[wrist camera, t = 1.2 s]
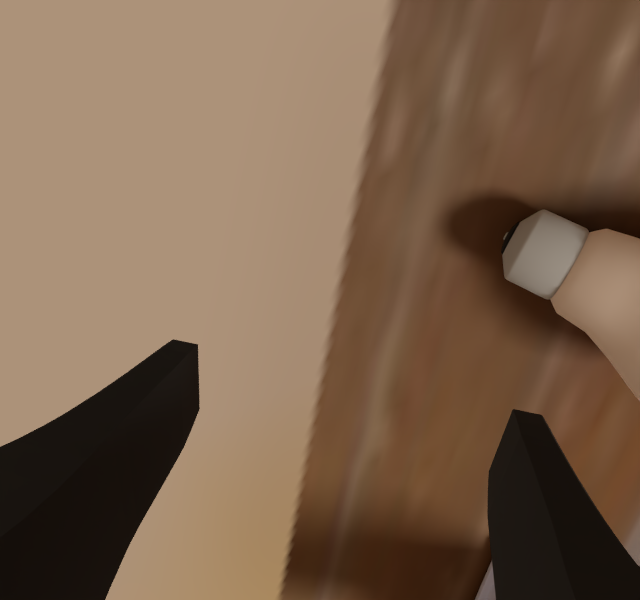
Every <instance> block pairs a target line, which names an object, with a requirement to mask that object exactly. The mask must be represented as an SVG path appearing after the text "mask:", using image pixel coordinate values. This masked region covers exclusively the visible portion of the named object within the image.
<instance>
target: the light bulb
mask: <svg viewBox="0 0 640 600" xmlns="http://www.w3.org/2000/svg"><path fill="white" fill-rule="evenodd" d="M503 240H504V243H503V246H502V251H501V254H503V255H502V257H503V268H504V277H505V279H506V280H508V281H510V282H512V283H514V284H516V285H518V286H520V287H522V288H524V289H526V290H528V291H530V292H532V293H534V294H536V295H538V296H540V297H542V298H544V299H549V300H551V302H552V304H553V307H554V309H555V311H556V313H557V314H559V315H560V316H562V317H563V318H565V319H566V320H568V321H569V322H571V323H572V324H574V325H575V326H577V327H578V328H580V329H581V330H583V331H584V332H586V334H587V335H588V336H589V337H590V338H591V339H592V341H593V342H594V343H595V344H596V345H597V346H598V348H599V349H600V350H601V351H602V352H603V354H604V355H605V356H606V357H607V358H608V360H609V361H610V362H611V364H612V365H613V367H614V368H615V369H616V371H617V372H618V373H619V375H620V376H621V377H622V379H623V380H624V382H625V383H626V384H627V386H628V387H629V388H630V390H631V391H632V393H633V394H634V395H635V396H636V397H637V399H638V400H639V401H640V239H639V238H636V237H633V236H630V235H626V234H623V233H620V232H616V231H613V230H610V229H602V230H597V231H593V232H589V231H588V229H587V228H584V227H582V226H580V225H578V224H576V223H574V222H571V221H569V220H567V219H565V218H563V217H560V216H558V215H556V214H554V213H552V212H549V211H547V210H544V209H543V210H540V211H538V212H536V213H535V214H533V215H531V216H530V217H528V218H526V219H524V220H523V221H521V222H518V223H517V224H515V225H514V226H513V228H512V229H511V230H510V231H509V232H507V233H506V234H505V236H504V238H503Z"/></svg>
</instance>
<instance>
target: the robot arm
mask: <svg viewBox="0 0 640 600" xmlns="http://www.w3.org/2000/svg"><path fill="white" fill-rule="evenodd" d="M198 411H199V374H198V345H197V344H192V343H188V342H182V341H178V340H171V341H170V342H168V343H167V344H166V345H164V346H163V347H161V348H160V349H159V350H157V351H156V352H155V353H153V354H152V355H150V356H149V357H148V358H146V359H145V360H144V361H142V362H141V363H139V364H138V365H137V366H135V367H134V368H133V369H131V370H130V371H129V372H127V373H126V374H124V375H123V376H121V377H120V378H118V379H117V380H116V381H115V382H113V383H111V384H110V385H108V386H107V387H105V388H104V389H103V390H101V391H100V392H98V393H97V394H95V395H94V396H92V397H90V398H89V399H87V400H86V401H84V402H82V403H81V404H79V405H78V406H77V407H75V408H73V409H71V410H70V411H68V412H67V413H65V414H63V415H62V416H60V417H58V418H56V419H55V420H53V421H51V422H49V423H47V424H46V425H44V426H42V427H40V428H38V429H36V430H34V431H33V432H30V433H28V434H26V435H25V436H23V437H21V438H19V439H17V440H14V441H12V442H10V443H8V444H6V445H3V446H1V447H0V600H105V599H106V596H107V594H108V591H109V589H110V587H111V584H112V582H113V580H114V578H115V575H116V573H117V571H118V569H119V566H120V564H121V562H122V559H123V557H124V555H125V553H126V550H127V548H128V546H129V544H130V542H131V541H132V539H133V537H134V535H135V533H136V531H137V529H138V527H139V525H140V523H141V522H142V520H143V518H144V517H145V515H146V513H147V511H148V509H149V508H150V506H151V504H152V502H153V501H154V499H155V497H156V496H157V494H158V492H159V490H160V489H161V487H162V485H163V483H164V481H165V480H166V478H167V476H168V474H169V473H170V471H171V469H172V467H173V465H174V464H175V462H176V460H177V459H178V457H179V455H180V453H181V451H182V449H183V448H184V445H185V443H186V440H187V438H188V436H189V434H190V431H191V429H192V426H193V424H194V421H195V419H196V416H197V414H198ZM488 525H489V536H490V546H491V556H492V561H491V563H490V566H489V568H488V570H487V572H486V575H485V577H484V579H483V582H482V584H481V586H480V589H479V591H478V593H477V596H476V598H475V600H640V567H639V566H638V565H637V564H636V563H635V561H634V560H633V559H632V558H631V556H630V555H629V554H628V552H627V551H626V549H625V548H624V547H623V545H622V544H621V543H620V541H619V540H618V538H617V537H616V536H615V534H614V533H613V531H612V530H611V528H610V527H609V526H608V524H607V523H606V521H605V520H604V518H603V517H602V515H601V514H600V512H599V511H598V509H597V508H596V506H595V505H594V503H593V501H592V500H591V498H590V497H589V495H588V493H587V492H586V490H585V489H584V487H583V485H582V484H581V482H580V481H579V479H578V477H577V476H576V474H575V472H574V471H573V469H572V467H571V466H570V464H569V462H568V460H567V459H566V457H565V455H564V453H563V452H562V450H561V448H560V446H559V445H558V443H557V441H556V439H555V437H554V436H553V434H552V432H551V430H550V428H549V426H548V425H547V423H546V421H545V419H544V418H543V416H542V415H539V414H534V413H529V412H524V411H520V410H515V409H513V410H512V413H511V416H510V418H509V421H508V423H507V426H506V429H505V431H504V434H503V436H502V439H501V441H500V444H499V447H498V449H497V452H496V454H495V457H494V460H493V462H492V465H491V467H490V470H489V479H488Z"/></svg>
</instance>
